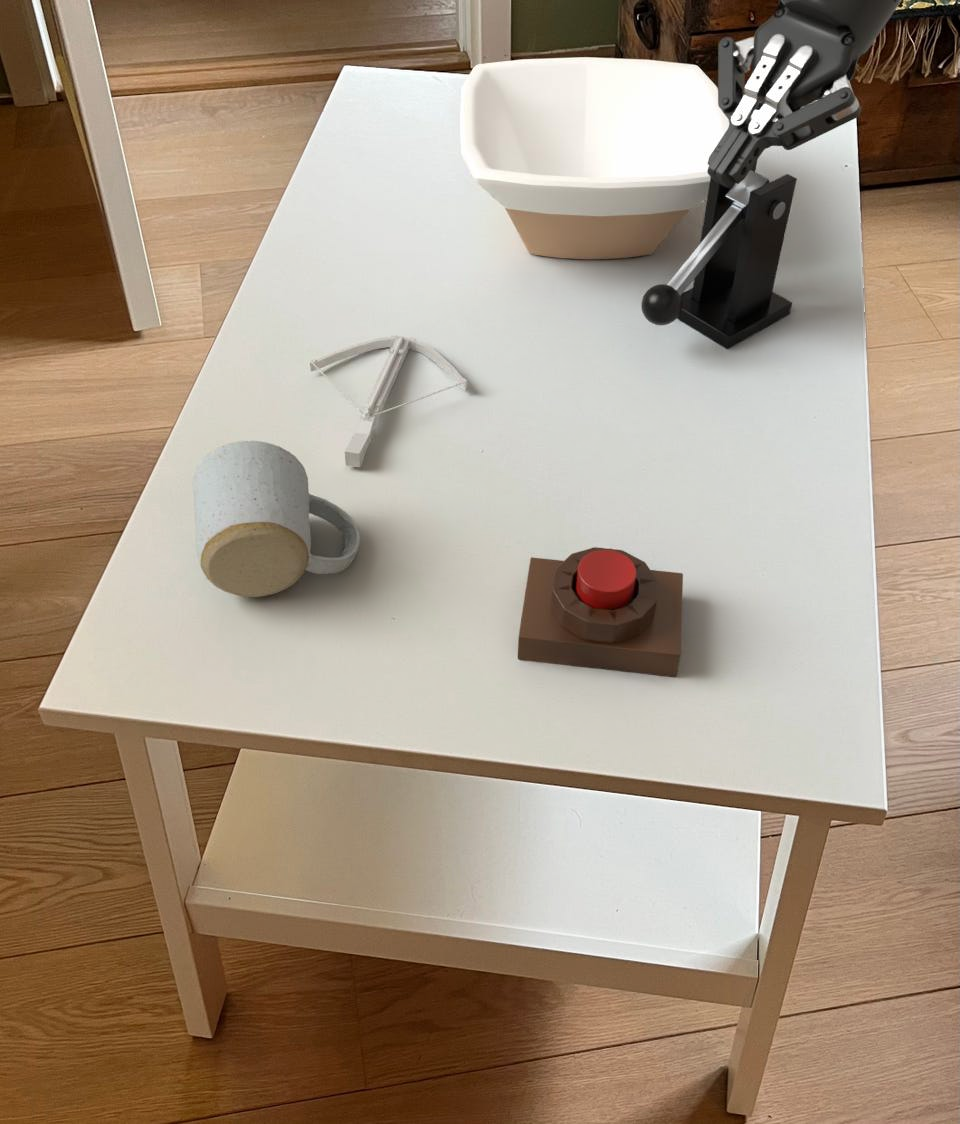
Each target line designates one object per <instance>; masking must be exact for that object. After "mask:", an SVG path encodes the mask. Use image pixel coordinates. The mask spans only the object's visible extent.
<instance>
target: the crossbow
mask: <svg viewBox="0 0 960 1124" xmlns="http://www.w3.org/2000/svg"><path fill="white" fill-rule="evenodd" d="M386 348H389V350H388V355H387V358H386V360H385V362H384V365H383V366H382V368H381V371H380V373H379V375H378V377H377V379H376V382H375V384H374V386H373V388H372V390H371V392H370V394H369V396H368V398H367V400H366V402H365V405H364V408H363V409H362V410H361V409H360V408H359V407H358V406H357V405H356V404H355V403H354V402H353V401H352V400H351V399H350V398H349V397H348V396H347V395H346V394H345V393H344V392H343V391H342V390H341V389H340V388H339V387H338V386H337V385H336V384H335V383H334V382H333V380H331V379H330V378H329V377H328V376H327V375H326V374H325V373H324V372H323V371H322V370H321V369H322V368H325V367H327V366H330V365H331V364H334V363H336V362H339V361H342V360H345V359H348V358H351V357H354V356H356V355H360V354H363V353H366V352H370V351H374V350H375V351H376V350H379V349H386ZM409 350H411V351H415V352H417V353H420V354H423V355H424V356H426V357H427V358H429V360H431V361H432V362H434V363H435V364H436V365H438V367H440V368H441V369H442V370H443V371H445V373H447V374H448V375H449V376H450V377H451V378H452V379H453V381H454V382H455V383H456V384H454V385H451V386H448V387H445V388H443V389H440V390H437V391H435V392H431V393H428V394H426V395H423V396H420V397H418V398H415V399H412V400H409V401H407V402H404V403H401V404H400V405H397V406H393V407H391V408H388V409H385V410H383V409H384V406H385V404H386V402H387V400H388V398H389V396H390V393H391V391H392V388H393V386H394V384H395V382H396V380H397V377H398V375H399V373H400V371H401V368H402V367H403V366H402V365H403V364H404V361H405V359H406V357H407V354H408V352H409ZM309 366H310V367H309V368H310V372H315V371H319V372H320V373H321V374H322V375H323V377H324V378H325V379H327V380H328V381H329V382H330V383H331V384H332V386H334V388H335V389H336V390H338V392H339V393H340V394H342V396H343V397H344V398H346V399H347V401H349V402H350V404H351V405H352V406H353V407H354V408H355V409H356V410H357V411H358V412H359V413H360V416H359V418H358V421H357V424H356V428H355V430H354V434H353V436H352V437H351V439H350V441H349V443H348V444H347V447H346V448H345V450H344V463H345V466H346V467H353V468H361V466H362V464H363V461H364V459H365V456H366V453H367V450H368V448H369V445H370V443H371V440H372V439H374V438H375V429H376V425H377V422H378V420H379V418H380V415H381V414H384V413H387V412H389V411H392V410H394V409H397V408H400V407H402V406H405V405H408V404H411V403H414V402H416V401H419V400H422V399H424V398H428V397H430V396H433V395H435V394H439V393H441V392H443V391H446V390H449V389H451V388H454V387H457V386H459V388H460V389H461V390H462V391H464V392H466V390H468V389H467V388H468V380H467V379H466V378H465V377H463V376H462V375H461V374H460V373H459V372H458V370H457V369H456V368H455V367H454V366H453V365H452V364H451V363H450V362H449V361H448V360H447V359H446V358H444V356H443V355H441V354H440V353H439V352H437V351H436V350H434V349H433V348H432V347H431V346H429V345H428V344H426V343H424V342H422V341H420V340H418V339H417V338H415V337H411V336H410V337H408V336H399V335H390V336H384V337H378V338H373V339H371V340H366V341H363V342H359V343H357V344H354V345H350V346H348V347H347V346H346V347H344V348H341V349H339V350H336V351H333V352H331V353H329V354H327V355H324V356H322V357H319V358H317V359H312V360H310V362H309Z"/></svg>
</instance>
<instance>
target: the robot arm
mask: <svg viewBox="0 0 960 1124" xmlns="http://www.w3.org/2000/svg"><path fill="white" fill-rule="evenodd" d="M902 1H903V0H778V2H777V3H778V4H777V7H776V9H775V12H774V13H773V15H771V17H770V18H769V19H768V20H766V21H765V22H764V23H763V24H760V26H759V27H758V28H757V29H756V31H755V33H754V36H751V37H747V38H744V39H742V40H738V41H735V40H734V39H733V38H732V37H731V36H724V37H723V38H721V40H719V42H718V45H717V50H718V51H717V88H718V106H719V108H720V109H721V110H722V112H723V113H724V114H725V116H726V117H727V118H728V120H729V127H728V129H727V131H726V132H725V134H724V135H723V137H722V138H721V140H720V141H719V143H718V144H717V146H716V147H715V149H714V151H713V152H712V153H711V155H710V156H709V159H708V163H707V164H708V165H709V167H708V170H707V173H708V174H709V175H710V177H711V178H712V179H713V180H714V181H715V182H717V183H719V184H721V185H723V186H725V187H727V188H732V187H733V186H734V185H735V183H737V184H739V183H740V182H741V181H743V180H744V179H745V177H746V176H747V174H748V172H749V171H750V170H751V168H752V167H753V165H754V164H755V162H756V161H757V162H758V160H759V158H760V156H761V155H762V154H763V152H764V151H765V150H766V149H769V148H771V147H782V148H783V149H784V150H785V151H791V150H794V149H795V148H798V147H800V146H802V145H804V144H806V143H808V142H810V141H812V140H814V139H817V138H818V137H820V136H822V135H824V134H826V133H829V132H830V131H832V130H834V129H837V128H838V127H841V126H843V125H845V124H847V123H849V122H851V121H853V120H855V119H857V118H858V117H859V116H860V115H861V112H862V107H861V105H860V103H859V100H858V98H857V97H856V94H854V90H853V88H852V85H851V80H852V79H853V78H854V76H855V73H856V69H857V63H858V61H859V58H861V57H863V56H865V54H866V53H867V52H868V51H869V49H870V48H871V46H872V45H873V43H874V42H875V40H876V39H877V37H878V36H879V34H880V33H881V31H882V30H883V28H884V27H885V26H886V24H887V23H888V21H889V20H890V18H891V17H892V15H893V14H894V12H895V11H896V10H897V8H899V7H898V6H899V5H900V4H901V2H902ZM751 65H752V73H751V75H750V77H749V78H748V79H747V82H746V83H745V79H746V78H745V73H748V72H749V71H750V70H751Z"/></svg>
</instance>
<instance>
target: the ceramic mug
mask: <svg viewBox="0 0 960 1124" xmlns="http://www.w3.org/2000/svg"><path fill="white" fill-rule="evenodd" d="M192 490H193V508H194V509H193V510H194V523H195V543H196V554H197V557H198V562H199V564H200V568H201V570H202V572H203V574H204V576H205V578H206V579H207V580H208V581H209V582H210V583H211V584H212V585H213V586H215V587H216V588H217V589H219V590H221V591H223V592H225V593H228V594H232V595H234V596H238V597H246V598H259V597H266V596H271V595H274V594H278V593H280V592H282V591H284V590H287V589H288V588H290V587H292V586H293V585H295V584H296V583H297V582H298V581H299V580H300V579H301V578H302V576H303V575H304V573H305V572H309V573H312V574H318V575H325V574H327V575H331V574H338V573H341V572H343V571H344V570H346V569H347V568H348V567H350V565H351V564H352V562H353V560H354V559H355V557H356V555H357V553H358V550H359V548H360V543H361V539H360V538H361V537H360V536H361V535H360V531H359V527H358V525H357V523H356V521H355V520H354V519H353V518H352V516H351V515H350V514H349V513H348V512H346V511H345V510H343V509H342V508H341V507H339V506H338V505H337V504H334V503H333V502H331V501H329V500H327V499H325V498H322V497H319V496H317V495H313V494H310V491H309V477H308V474H307V471H306V469H305V466H304V465H303V463H302V462H301V461H300V460H299V459H298V457H296V456H295V455H294V454H293V453H292V452H290V451H289V450H286V449H285V448H283V447H281V446H279V445H276V444H274V443H270V442H266V441H261V440H239V441H233V442H230V443H227V444H225V445H221V446H219V447H217V448H215V449H213V450H212V451H210V452H208V454H207V455H205V456H204V458H203V459H202V460H201V461H200V462H199V464H197V467H196V469H195V471H194V474H193V478H192ZM310 514H311V515H313V516H315V517H319V518H320V519H323V520H325V521H326V522H328V523H330V524H332V525H333V526H334V527H335V528H337V529H338V531H340V533H342V536H343V539H344V550H343V551H342V553H341V556H337V557H331V556H329V557H327V556H321V555H314V554H312V553H311V549H312V536H311V534H312V533H311V526H310V525H311V524H310Z"/></svg>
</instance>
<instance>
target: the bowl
mask: <svg viewBox="0 0 960 1124" xmlns="http://www.w3.org/2000/svg"><path fill="white" fill-rule="evenodd" d="M460 90H461V94H460V117H459V119H460V120H459V121H460V123H459V125H460V153H461V158H462V159H463V161H464V163H465V165H466V167H467V169H468V171H469V173H470V175H471V176H472V178H473V180H474V182H475V183H476V184H477V185H478V186H479V187H481V188H482V189H483V190H484V191H485V192H486V193H487V194H488V195H489V196H491V197H492V198H493V199H494V200H495V201H496V202H498V204H500V205H501V206H502V207H503V208H504V210H505V212H506V213H507V215H508V216H509V219H510V221H511V223H512V224H513V226H514V227H515V229H516V231H517V234H518V235H519V237H520V239H521V241H522V243H523V244H524V246H525V248H526V250H527V252H528V253H529V254H530V255H534V256H543V257H548V258H549V257H550V258H556V259H573V260H574V259H575V260H576V259H577V260H609V259H610V260H611V259H612V260H613V259H628V258H635V257H641V256H642V257H643V256H649V255H652V254H654V253H655V251H656V250H657V249H658V247H660V245H661V244H662V243H663V241H664V240H665V239H666V238H667V236H669V235H670V233H671V232H672V231H673V230H674V229H675V227H676V226H677V225H678V224H679V222H680V221H681V220H682V219H683V218H684V217H685V216H686V214H687V213H688V212H689V211H690V210H691V209H693V208H695V207H696V206H698V205H700V204H701V203H703V202H704V201H707V197H708V190H709V184H710V178H711V177H710V175H709V174H708V173H707V170H708V167H709V165H708V164H707V163H708V159H709V156H710V155H711V153H712V152H713V151H714V149H715V147H716V146H717V144H718V143H719V141H720V140H721V138H722V137H723V135H724V134H725V132H726V131H727V129H728V127H729V120H728V118H727V117H726V116H725V114H724V113H723V112H722V110H721V109H720V108H719V106H718V86H717V85H716V84H715V83H714V82H713V80H711V79H710V78H709V76H708V75H706V73H705V72H704V71H703V70H702V69H701V68H700V67H699V66H698V65H696V64H691V63H682V62H672V61H665V60H653V59H640V58H639V59H638V58H617V57H616V58H615V57H614V58H613V57H591V56H590V57H589V56H584V57H583V56H581V57H579V56H578V57H553V58H552V57H551V58H550V57H549V58H548V57H547V58H525V59H524V58H523V59H514V60H504V61H496V62H486V63H478V64H476V65H475V66H474V67H473V68H472V70H471V71H470V73H469V74H468V77H466V80H465V81H464V83H463V85H462V86H461V89H460Z"/></svg>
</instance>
